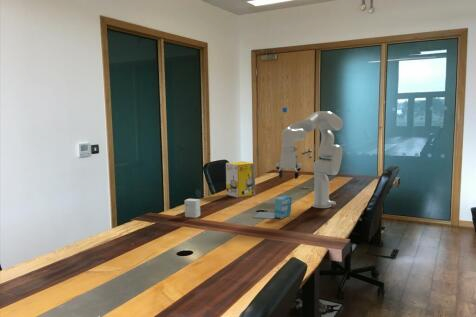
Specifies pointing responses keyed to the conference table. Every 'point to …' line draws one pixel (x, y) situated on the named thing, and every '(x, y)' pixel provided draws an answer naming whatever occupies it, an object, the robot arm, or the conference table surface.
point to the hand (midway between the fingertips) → (288, 178)
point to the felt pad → (265, 215)
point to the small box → (192, 208)
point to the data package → (282, 207)
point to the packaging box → (240, 179)
